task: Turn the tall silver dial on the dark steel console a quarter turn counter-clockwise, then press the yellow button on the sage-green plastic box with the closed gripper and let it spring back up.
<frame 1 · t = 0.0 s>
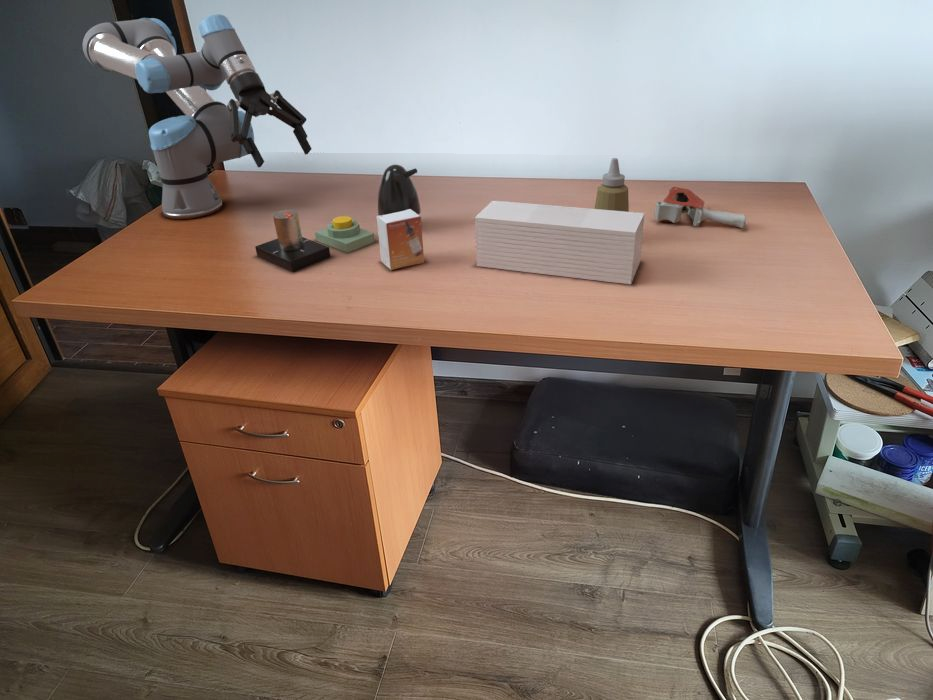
hand: (285, 158, 163), 15 cm above the table, tool tilted 35°, fingers open, 13 cm apart
console: (293, 257, 149), on the table
button box: (345, 241, 156), on the table
pump dispenser: (401, 228, 162), on the table
tape dispenser: (691, 221, 157), on the table
squeeze bottle: (609, 240, 150), on the table
start button: (342, 223, 154), point 4 cm above the table, slide at 0.1 cm
white ridged block: (557, 265, 139), on the table
dial: (288, 229, 146), point 6 cm above the table, hinge at 0.0°
small box: (403, 263, 144), on the table
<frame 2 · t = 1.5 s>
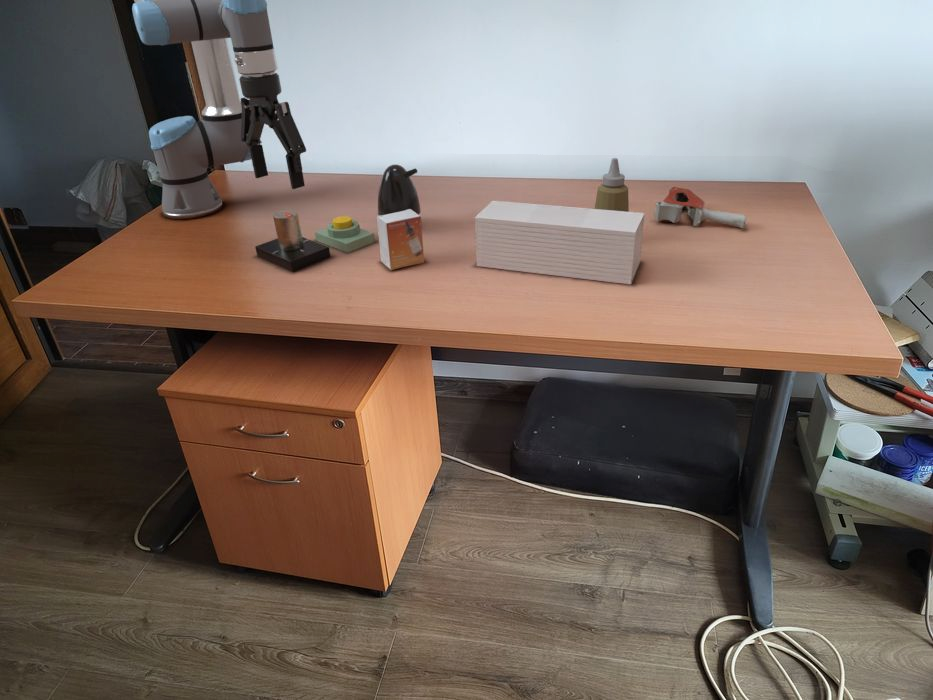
hand: (279, 181, 141), 17 cm above the table, tool pointing down, fingers open, 13 cm apart
nothing on the table moved.
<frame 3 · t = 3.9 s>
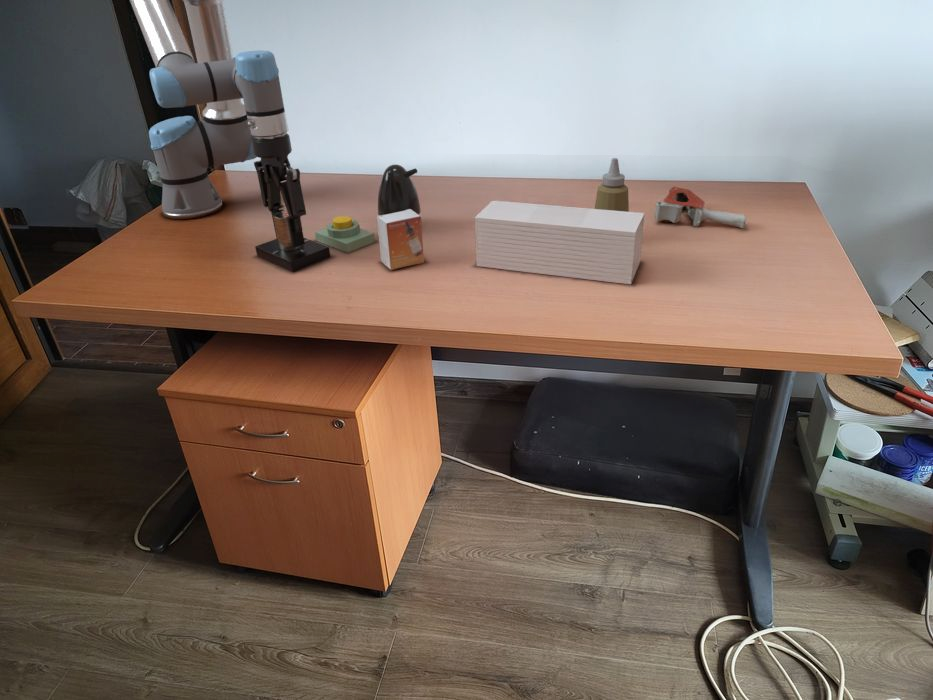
hand: (290, 242, 148), 4 cm above the table, tool pointing down, fingers closed on dial, 5 cm apart
dial: (288, 229, 146), point 6 cm above the table, hinge at 0.0°, touching gripper
everything else where it was.
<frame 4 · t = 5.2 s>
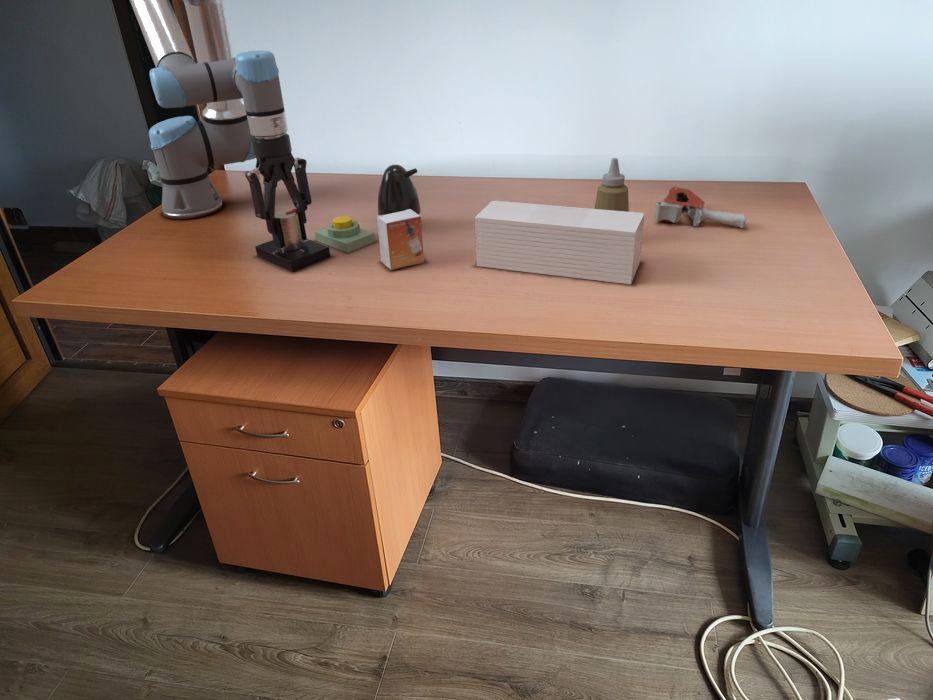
hand: (290, 242, 148), 4 cm above the table, tool pointing down, fingers closed on dial, 5 cm apart
dial: (288, 229, 146), point 6 cm above the table, hinge at 89.9°, touching gripper
everything else where it was.
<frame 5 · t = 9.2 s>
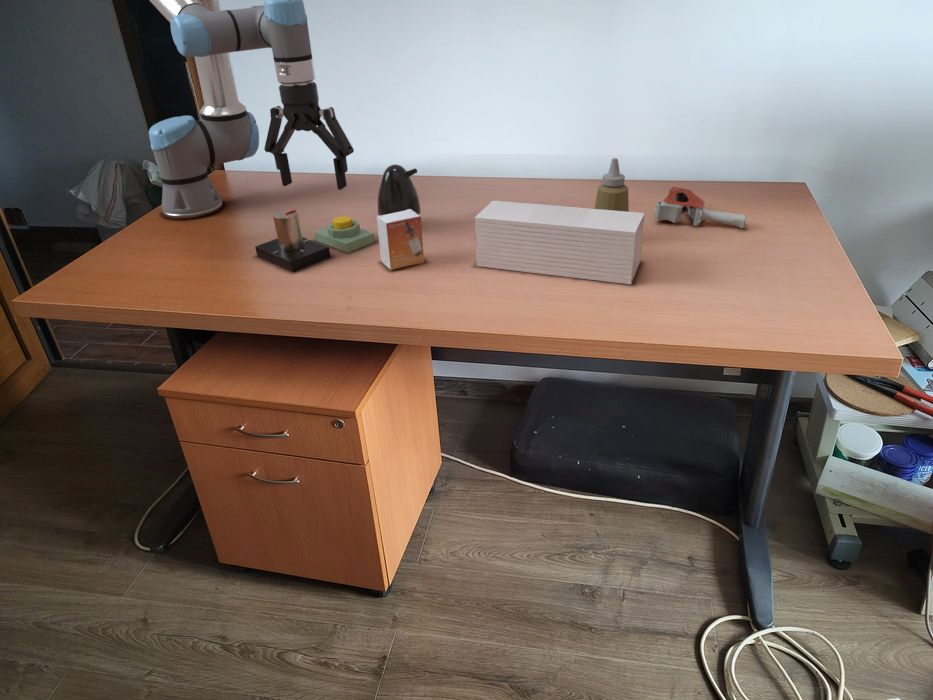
hand: (314, 186, 146), 14 cm above the table, tool pointing down, fingers open, 13 cm apart
dial: (288, 229, 146), point 6 cm above the table, hinge at 89.7°
everything else where it was.
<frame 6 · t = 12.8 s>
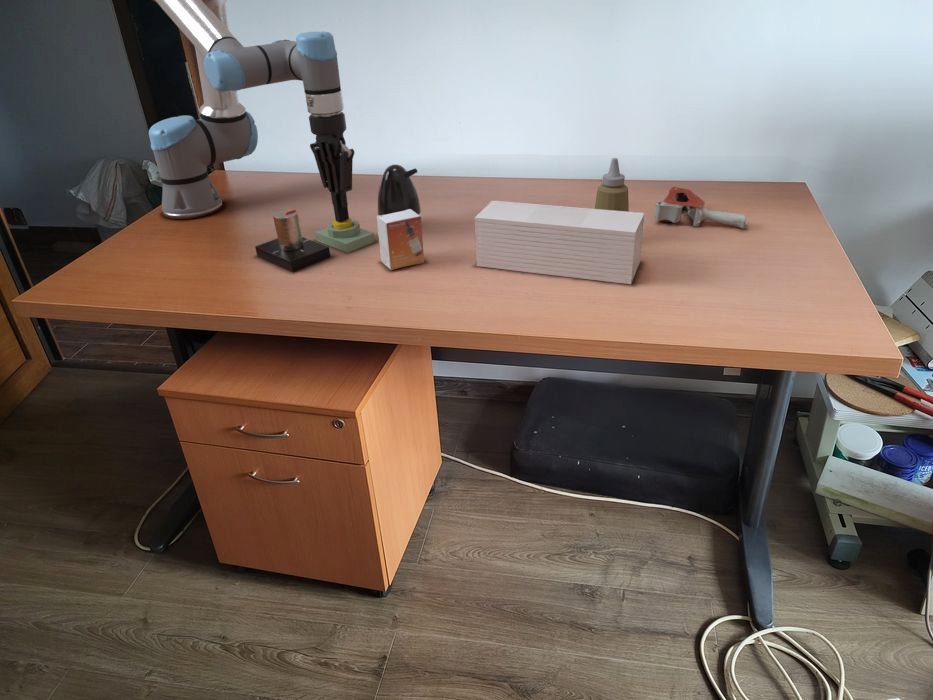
hand: (342, 219, 153), 5 cm above the table, tool pointing down, fingers closed
start button: (342, 224, 154), point 4 cm above the table, slide at -0.2 cm, touching gripper
everything else where it was.
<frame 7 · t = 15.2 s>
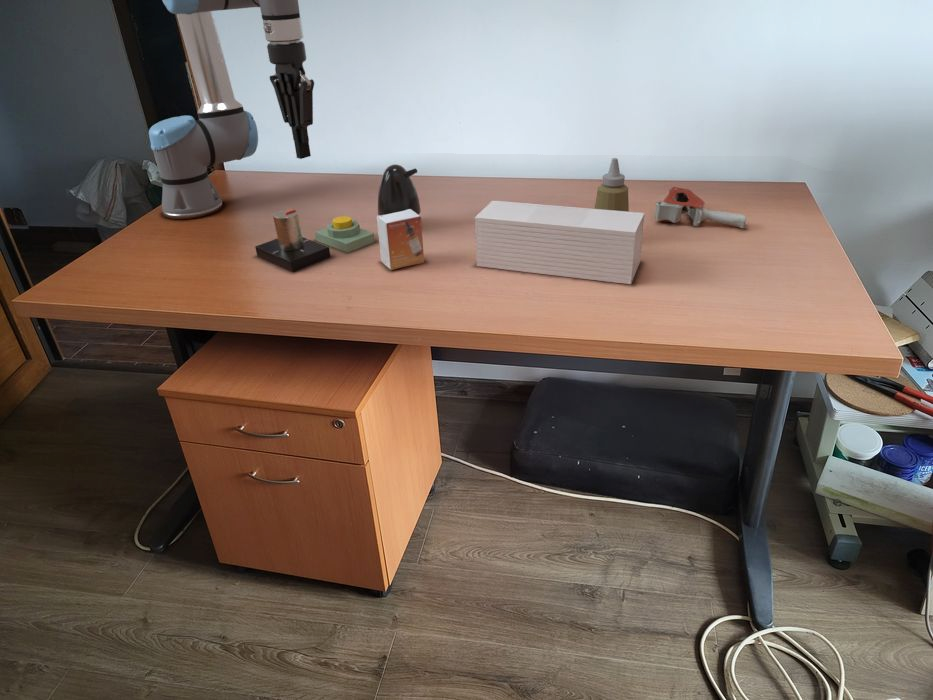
hand: (303, 156, 149), 19 cm above the table, tool pointing down, fingers closed
start button: (342, 223, 154), point 4 cm above the table, slide at 0.1 cm
everything else where it was.
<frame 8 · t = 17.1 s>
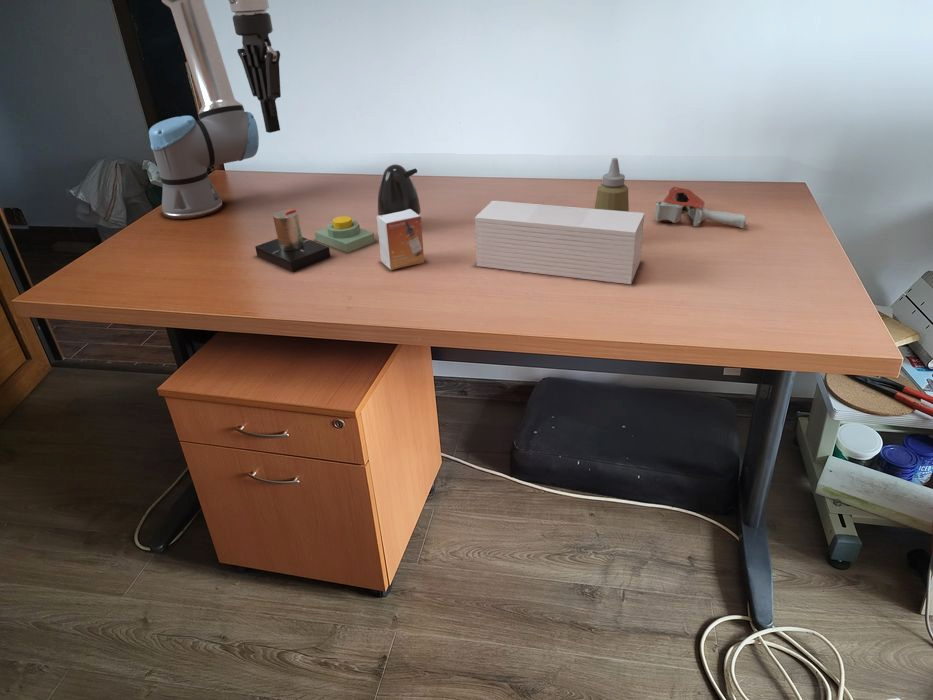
hand: (273, 131, 149), 24 cm above the table, tool pointing down, fingers closed
nothing on the table moved.
at the end: dial at +90° (first picture: +0°); start button pushed in 0.7 cm at the most during the clip, back to where it started at the end; start button slide at 0.1 cm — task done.
